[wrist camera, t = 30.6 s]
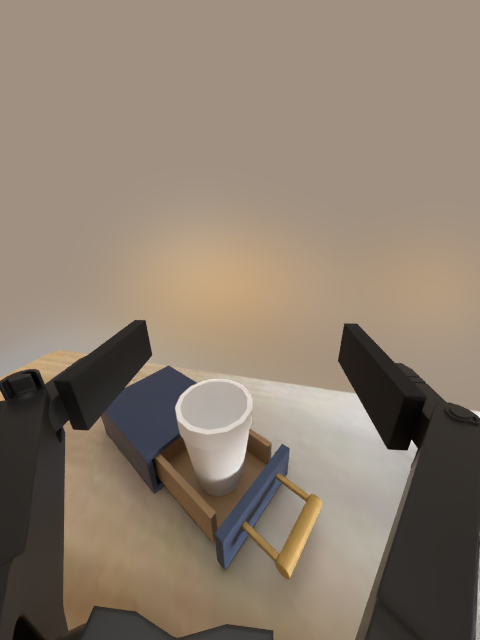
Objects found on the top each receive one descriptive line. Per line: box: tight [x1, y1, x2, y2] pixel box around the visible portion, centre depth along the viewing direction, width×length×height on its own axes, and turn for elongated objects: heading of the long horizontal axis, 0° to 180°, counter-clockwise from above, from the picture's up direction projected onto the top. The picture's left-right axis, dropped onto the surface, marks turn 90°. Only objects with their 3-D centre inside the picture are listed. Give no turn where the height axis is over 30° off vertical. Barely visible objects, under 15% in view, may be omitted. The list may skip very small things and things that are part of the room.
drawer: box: [152, 429, 323, 579], centre depth 31 cm, size 22×13×5 cm, turn 50°
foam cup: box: [175, 378, 252, 496], centre depth 31 cm, size 10×9×13 cm
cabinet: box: [101, 366, 197, 494], centre depth 41 cm, size 17×15×7 cm
